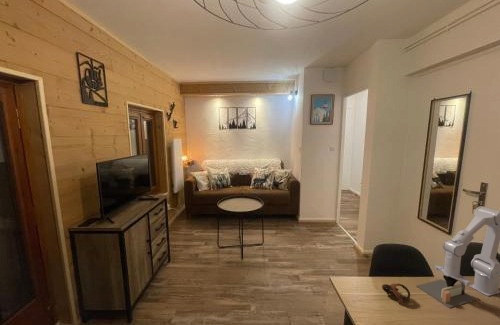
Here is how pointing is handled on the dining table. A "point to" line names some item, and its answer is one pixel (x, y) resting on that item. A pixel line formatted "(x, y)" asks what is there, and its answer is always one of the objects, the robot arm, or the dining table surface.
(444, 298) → the block
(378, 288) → the dining table surface
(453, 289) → the bar
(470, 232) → the robot arm
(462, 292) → the gate post
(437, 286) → the mat
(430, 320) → the dining table surface
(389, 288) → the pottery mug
